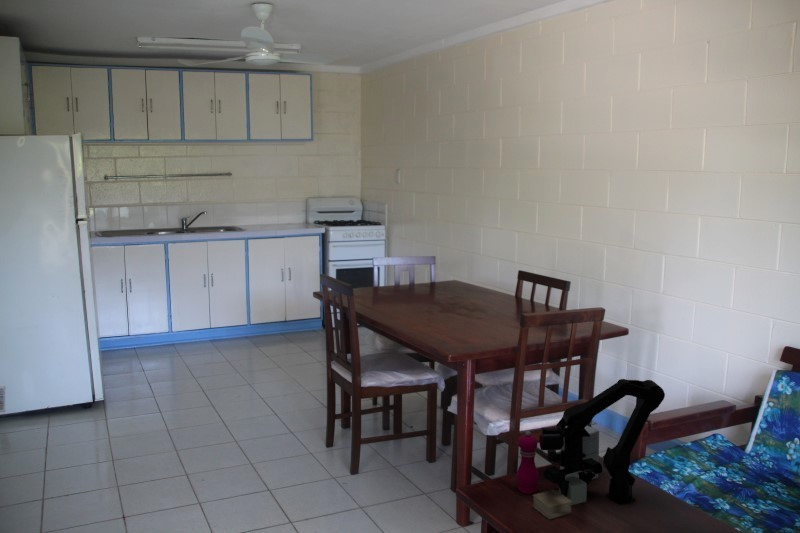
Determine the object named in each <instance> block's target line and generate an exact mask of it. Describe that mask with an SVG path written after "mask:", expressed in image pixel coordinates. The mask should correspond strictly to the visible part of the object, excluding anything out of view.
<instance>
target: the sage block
mask: <svg viewBox="0 0 800 533" xmlns="http://www.w3.org/2000/svg"><path fill="white" fill-rule="evenodd" d="M566 480H568V481H569V486H568V492H567V496H566V497H567V498H568V499H570V500H571V501H572V503H571V506H574V505H578V504H581V503H586V502H587V493H588V492H587V489H588V488H587V487H588V486H587V483H585V482H584V481H582V480H581V479H579V478H578V477H576V476H571V477H566ZM558 492H560V493H561V491H560V488H559V487H558Z"/></svg>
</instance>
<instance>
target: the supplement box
mask: <svg viewBox="0 0 800 533" xmlns="http://www.w3.org/2000/svg"><path fill="white" fill-rule="evenodd" d="M565 427H566V428H567V425H566V426H565ZM585 430H587V431H588V433H589V434H590V437H583V453H584V454H586V457H584V458H583V460H585V459H589V458H592V459H594V460H595V461H597V462H599V463H600V461H599V457H600V430H599V429H597V428H594V427H591V426H589V425H587V426H586V427H585ZM561 450H564V446H563V447H562V449H560V450H559V452H560V451H561ZM561 469H564V467H561V466H560V465H559V470H561ZM592 473H593V472H592ZM571 476H576V477H578V478H579V475H578V473H574V474H570V475H567V476H566V477H571ZM598 478H599V473H598V474H595V477H593V478H592V480H595V479H598ZM592 480H591V481H592Z"/></svg>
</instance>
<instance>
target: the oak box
mask: <svg viewBox="0 0 800 533" xmlns="http://www.w3.org/2000/svg"><path fill="white" fill-rule="evenodd" d="M532 497H533V509H535V510H537V511H538V512H539V513H540V514H542V515H543V516H544V517H545V518H547V519H548V520H553V519H555V518H559V517H563V516H567V515H570V514H572V505H571V503H572V501H571V500H570V499H568V498H567V497H565V496H564V495H563V494H561V493H560V492H559V490H556V489H551V490H547V491H543V492H538V493H534V494H532Z"/></svg>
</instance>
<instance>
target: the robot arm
mask: <svg viewBox="0 0 800 533" xmlns="http://www.w3.org/2000/svg"><path fill="white" fill-rule="evenodd" d="M627 396H630V397H634V398H635V399H636V400H635V401H636V402H635V406H634V407H633V408H634V409H633V410H632V413H631V414H630V417H629V419H628V420H627V423H626V425H625V427H624V429H623V431H622V434H621V436H620V438H619V440H618V442H617V444H616V445H615V446H613V447H612V448H611V447H609V446H607V449H606V452H605V454H604V455H603V456H602V459H603V461H602V464H603V465H602V464H601V462H600V461H599V462H597V461H595V460H594V459H592V458H589V459H585V460H583V458H584V457H586V454H584V453H583V437H590V434H589V433H588V431H587V430H585V427H586V426H589V424H590V423H591V422H592V420H593V419H594V418H595V417H596V416H597V415H599V414H600V413H601V412H603V411H605V410H606V409H608V408H609V407H611V406H612V405H613V404H615V403H617V402H618V401H620V400H622V399H623V398H625V397H627ZM665 397H666V394H665V390H664V389H663V388H662V387H661V386H660V384H659V385H658V383H656V381H654V380H651V379H646V380H639V379H625V378H621V379H619V380H618V381H617V382H615V383H614V384H613V385H611V386H609V387H608V388H606V389H605V390H603V391H601V392H600V393H599V394H598V393H597V395H596V396H594V397H592V398H591V399H589V400H587V401H586V402H583V403H578V404H574V405H573V406H569V407H568V408H567V409H564V411H563V414H562V417H561V418H560V419H559V421H557V423H556V424H555V426H556V428H555V427H550V428H548V427H541V429H540V433H539V437H538V438H539V439H538V440H539V441H538V442H539V448H540V451H548V452H547V459H548V461H549V462H550V463H553V464H559V467H560V466H561V467H564V469H561V470H560V468H558V467H556V466H554V465H553V466H551V467H547V468H545V469H544V470H543V478H545V479H547V481H549V482H550V483H551V484H557V485H558V489H559V488H560V491H561V494H563V495H564V496H565V497H566V496H567V492H568V486H569V481H568V480H566V476H567V475H570V474H574V473H578V475H579V479H581V480H582V481H584V482H585V483H587V487H588V486H589V484H590V483H591V481H592V478H593V477H595V474H598V475H599V474H602V473H603V468H604V469H605V470H606V471H607V473H608V474H609V476H610V477H611V478H610V479H609V484H608V493H606V495H605V496H606V497H608V498H609V499H611V500H613V501H614V502H616V503H617V504H618V505H621V504H626V503H631V502H635V501H636V498H635V497H634V496H633V486H634V484H635V481H636V478H635V477H634V476H633V475H632V473H631V472H630V471H629V469H630V467H631V456H632V455H631V454H632V452H633V450H634V448H635V446H636V444H637V441H638V439H639V438H640V435H641V433H642V432H643V429H644V427H645V424H646V423H647V421H648V418H649V417H650V415H651V413H652V412H654V411H655V410H656V409H658V408H659V406H660V405H661V404H662V402H663V401H664V399H665ZM566 426H567V428H566ZM563 446H564V450H561V451H560V449H562V447H563ZM592 472H593V473H592Z"/></svg>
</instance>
